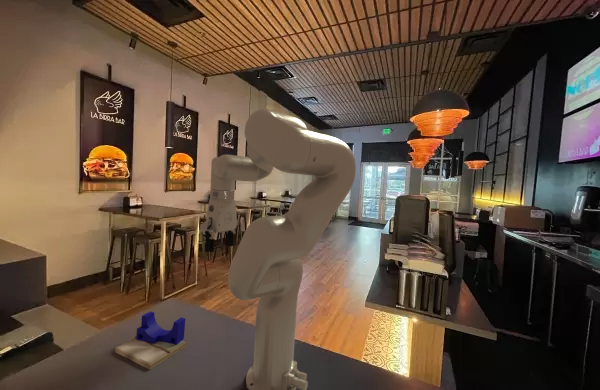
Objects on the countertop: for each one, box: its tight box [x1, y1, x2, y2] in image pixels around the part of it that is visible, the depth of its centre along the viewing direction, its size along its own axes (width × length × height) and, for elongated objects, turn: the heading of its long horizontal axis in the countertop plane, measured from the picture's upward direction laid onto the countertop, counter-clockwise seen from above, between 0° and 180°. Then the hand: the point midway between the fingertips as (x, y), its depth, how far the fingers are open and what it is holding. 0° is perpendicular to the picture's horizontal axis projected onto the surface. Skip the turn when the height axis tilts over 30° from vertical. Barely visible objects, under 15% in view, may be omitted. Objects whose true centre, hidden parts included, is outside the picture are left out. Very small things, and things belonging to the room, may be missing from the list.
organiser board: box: [114, 336, 187, 371], centre depth 73 cm, size 14×11×2 cm
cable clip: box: [135, 311, 186, 345], centre depth 75 cm, size 12×4×6 cm, turn 77°
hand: (220, 248), depth 86 cm, fingers open, 9 cm apart
